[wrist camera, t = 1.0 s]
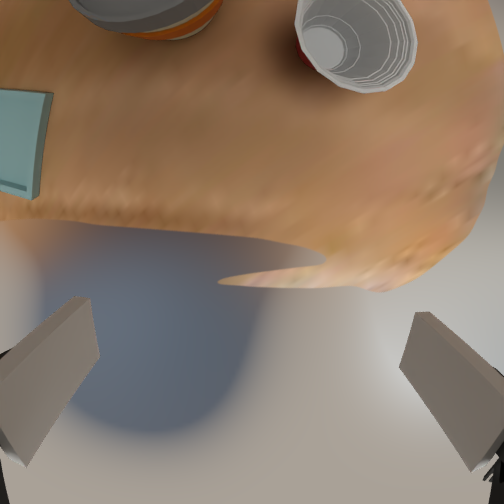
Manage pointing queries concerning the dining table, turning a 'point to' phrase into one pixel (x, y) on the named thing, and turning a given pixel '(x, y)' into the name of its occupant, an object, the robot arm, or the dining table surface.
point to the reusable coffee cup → (150, 16)
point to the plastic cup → (357, 42)
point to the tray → (22, 140)
